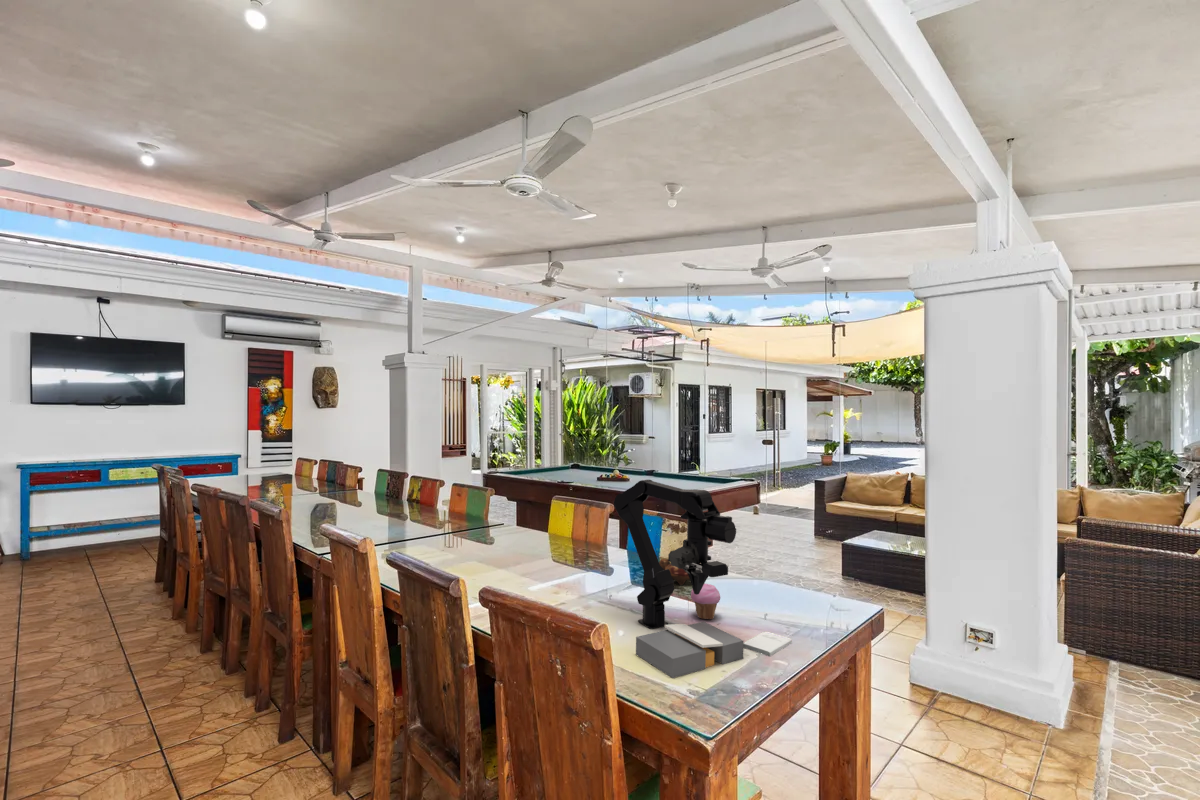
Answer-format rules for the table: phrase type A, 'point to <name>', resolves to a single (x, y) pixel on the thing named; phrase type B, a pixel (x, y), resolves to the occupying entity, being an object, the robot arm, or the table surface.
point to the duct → (686, 650)
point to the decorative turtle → (675, 571)
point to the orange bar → (708, 655)
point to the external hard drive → (767, 643)
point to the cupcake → (706, 601)
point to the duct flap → (693, 635)
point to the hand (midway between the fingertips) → (696, 594)
